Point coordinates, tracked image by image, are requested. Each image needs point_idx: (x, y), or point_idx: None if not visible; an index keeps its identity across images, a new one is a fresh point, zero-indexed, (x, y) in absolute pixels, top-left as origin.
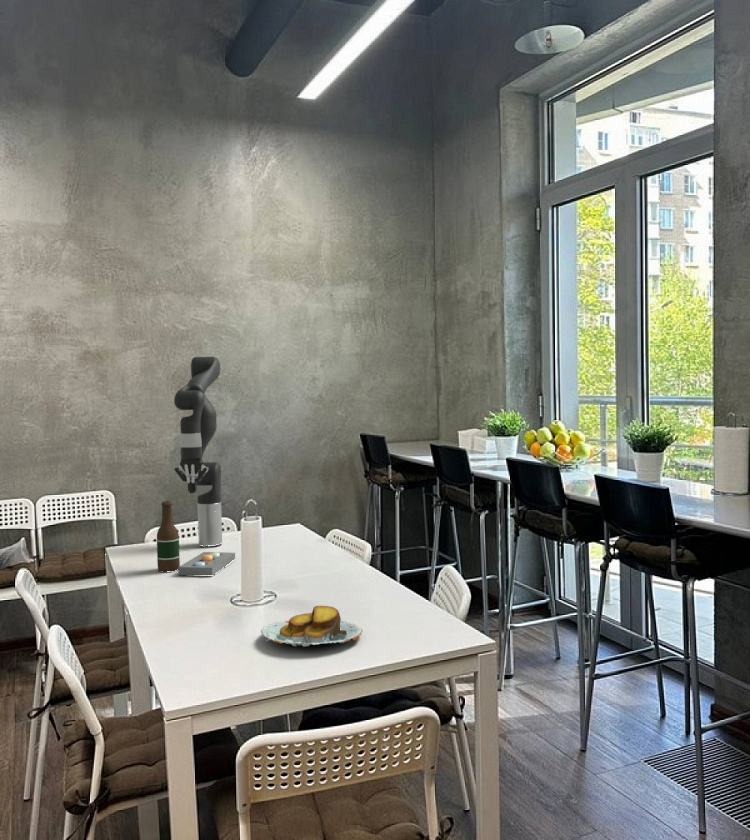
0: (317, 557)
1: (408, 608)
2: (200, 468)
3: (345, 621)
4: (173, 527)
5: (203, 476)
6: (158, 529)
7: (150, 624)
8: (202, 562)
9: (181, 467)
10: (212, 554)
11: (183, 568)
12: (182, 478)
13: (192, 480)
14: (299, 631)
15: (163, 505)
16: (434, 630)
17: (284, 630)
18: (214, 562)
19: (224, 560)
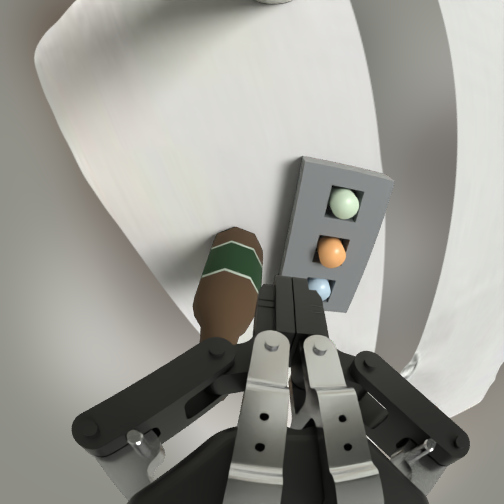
0: None
1: (487, 372)
2: (392, 469)
3: (436, 406)
4: (244, 328)
5: (403, 390)
6: (195, 317)
7: (289, 419)
8: (324, 290)
9: (151, 476)
10: (340, 215)
11: None
12: (198, 394)
13: (298, 390)
14: None
15: None
16: (472, 397)
17: None
18: (349, 275)
19: (370, 252)
